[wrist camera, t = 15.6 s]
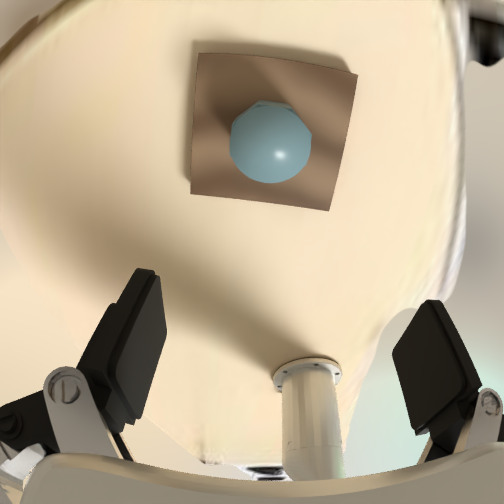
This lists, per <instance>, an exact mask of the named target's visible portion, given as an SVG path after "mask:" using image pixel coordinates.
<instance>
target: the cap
mask: <svg viewBox="0 0 504 504" xmlns="http://www.w3.org/2000/svg"><path fill="white" fill-rule="evenodd" d="M311 138H312V134H311V133H310V131H309V130H308V128H307V127H306V126H305V124H304V123H303V122H302V120H301V119H300V118H299V116H298V115H297V114H296V113H295V111H294V110H293V109H292V107H291V106H290V105H289V104H286V103H279V102H272V101H264V100H259V101H258V102H256V103H255V104H254V105H252V106H251V107H250V108H248V109H247V110H246V111H244V112H243V113H242V114H240V115H239V116H238V117H237V118H236V119H235V121H234V122H233V123H232V129H231V136H230V143H229V147H230V150H229V155H230V156H231V158H232V159H233V161H234V163H235V165H236V166H237V167H238V169H239V170H240V171H241V172H242V173H243V174H245V175H246V176H248V177H249V178H251V179H253V180H256V181H259V182H263V183H278V182H282V181H285V180H288V179H290V178H292V177H293V176H295V175H296V174H298V173H299V172H300V171H301V170H302V168H303V167H304V166H306V165H307V161H308V158H309V155H310V150H311Z"/></svg>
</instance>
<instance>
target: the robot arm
mask: <svg viewBox="0 0 504 504" xmlns="http://www.w3.org/2000/svg"><path fill="white" fill-rule="evenodd" d="M166 335H167V328H166V321H165V314H164V307H163V299H162V291H161V283H160V277H159V276H158V275H155V272H154V271H153V270H147V269H141V268H137V269H136V270H135V272H134V273H133V275H132V277H131V278H130V280H129V282H128V284H127V285H126V287H125V289H124V290H123V292H122V294H121V296H120V298H119V299H118V301H117V303H112V304H110V305H109V307H108V308H107V310H106V311H105V313H104V315H103V317H102V319H101V320H100V322H99V324H98V326H97V328H96V330H95V332H94V333H93V335H92V337H91V339H90V341H89V343H88V345H87V347H86V349H85V351H84V353H83V355H82V357H81V359H80V361H79V363H78V365H77V367H76V369H75V368H73V367H67V366H65V367H60V368H57V369H55V370H53V371H52V372H51V373H50V374H49V375H48V376H47V378H46V380H45V382H44V386H43V390H41V391H38V392H36V393H33V394H31V395H28V396H26V397H23V398H21V399H18V400H16V401H13V402H10V403H8V404H5V405H3V406H2V407H0V504H504V414H502V413H503V404H502V400H501V398H500V396H499V395H498V394H497V392H495V391H494V390H493V389H490V388H485V389H482V390H481V391H480V392H478V389H479V388H480V387H481V386H482V383H481V381H480V378H479V376H478V373H477V371H476V369H475V367H474V364H473V362H472V360H471V358H470V356H469V353H468V351H467V349H466V347H465V345H464V343H463V341H462V339H461V337H460V335H459V333H458V331H457V329H456V328H455V325H454V324H453V321H452V320H451V318H450V316H449V314H448V312H447V310H446V309H445V307H444V305H443V303H442V302H441V301H440V300H426V301H425V302H424V303H423V304H421V306H420V307H419V309H418V311H417V312H416V314H415V316H414V317H413V319H412V321H411V322H410V324H409V326H408V327H407V329H406V330H405V332H404V333H403V335H402V337H401V338H400V340H399V341H398V343H397V344H396V346H395V347H394V349H393V352H392V357H393V361H394V364H395V367H396V371H397V374H398V377H399V381H400V385H401V388H402V391H403V395H404V399H405V403H406V407H407V411H408V415H409V419H410V423H411V427H412V428H413V429H414V430H415V435H416V436H417V435H422V434H426V433H428V432H430V437H429V440H428V442H427V444H426V446H425V449H424V451H423V453H422V455H421V457H420V459H419V461H418V463H417V465H414V466H410V467H406V468H402V469H397V470H393V471H387V472H382V473H377V474H371V475H365V476H357V477H350V478H345V471H344V462H343V451H342V440H341V430H340V421H339V412H338V404H337V396H336V389H335V386H336V385H337V384H338V383H339V382H340V380H341V378H342V370H341V367H340V366H339V365H338V364H337V363H335V362H334V361H331V360H328V359H323V358H305V359H299V360H295V361H292V362H289V363H287V364H285V365H283V366H282V367H280V368H279V369H278V370H277V371H276V372H275V374H274V377H273V383H274V385H275V387H276V388H277V389H278V390H280V391H281V392H282V465H283V468H284V471H285V472H286V474H287V475H288V476H289V477H290V478H291V479H292V480H293V481H252V480H238V479H227V478H218V477H211V476H203V475H197V474H190V473H184V472H178V471H173V470H168V469H163V468H159V467H154V466H150V465H145V464H141V463H137V462H136V460H135V459H134V457H133V455H132V453H131V451H130V449H129V447H128V446H127V444H126V442H125V440H124V438H123V436H122V434H121V432H122V431H123V429H124V426H125V423H127V424H131V425H134V423H135V420H136V419H140V418H141V416H142V414H143V410H144V407H145V403H146V400H147V397H148V393H149V390H150V387H151V383H152V380H153V377H154V374H155V371H156V367H157V364H158V361H159V358H160V355H161V352H162V349H163V346H164V343H165V340H166ZM35 465H36V466H35ZM34 466H35V467H34ZM33 467H34V469H33V470H32V472H30V469H31V468H33ZM30 473H31V474H30ZM28 474H30V476H29V478H28V480H27V483H26V485H25V488H24V491H23V488H22V485H23V480H24V479H25V477H26V476H27V475H28Z"/></svg>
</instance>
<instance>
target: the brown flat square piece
mask: <svg viewBox="0 0 504 504" xmlns="http://www.w3.org/2000/svg"><path fill="white" fill-rule="evenodd" d="M357 78H358V75H356V74H353V73H349V72H345V71H341V70H337V69H332V68H328V67H323V66H319V65H314V64H308V63H303V62H297V61H291V60H284V59H277V58H270V57H261V56H251V55H239V54H222V53H199V56H198V66H197V77H196V89H195V102H194V117H193V134H192V156H191V192H190V194H195V195H205V196H215V197H224V198H233V199H242V200H251V201H259V202H267V203H275V204H282V205H290V206H297V207H304V208H311V209H317V210H324V211H329V209H330V205H331V201H332V197H333V193H334V189H335V185H336V181H337V177H338V172H339V168H340V164H341V159H342V155H343V150H344V146H345V141H346V136H347V132H348V127H349V122H350V117H351V112H352V106H353V101H354V95H355V90H356V84H357ZM259 100H264V101H272V102H279V103H286V104H289V105H290V106H291V107H292V109H293V110H294V111H295V113H296V114H297V115H298V116H299V118H300V119H301V120H302V122H303V123H304V124H305V126H306V127H307V128H308V130H309V131H310V133H311V134H312V138H311V150H310V155H309V158H308V161H307V165H306V166H304V167H303V168H302V170H301V171H300V172H299V173H298V174H296V175H295V176H293V177H292V178H290V179H288V180H285V181H282V182H278V183H263V182H259V181H256V180H253V179H251V178H249V177H248V176H246V175H245V174H243V173H242V172H241V171H240V170H239V169H238V167H237V166H236V165H235V163H234V161H233V159H232V158H231V156H230V155H229V150H230V147H229V143H230V136H231V129H232V123H233V122H234V121H235V119H236V118H237V117H238V116H239V115H240V114H242V113H243V112H244V111H246V110H247V109H248V108H250V107H251V106H252V105H254V104H255V103H256V102H258V101H259Z"/></svg>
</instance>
